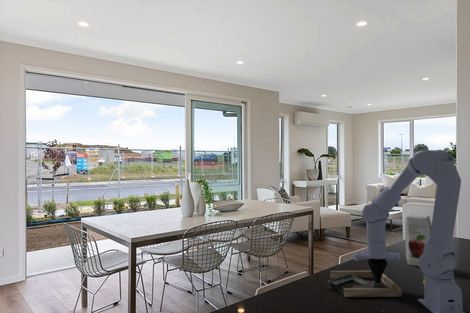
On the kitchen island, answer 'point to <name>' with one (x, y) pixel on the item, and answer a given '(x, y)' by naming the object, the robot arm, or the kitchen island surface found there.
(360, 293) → the oak box frame
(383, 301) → the kitchen island surface
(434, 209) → the robot arm
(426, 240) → the juice carton
